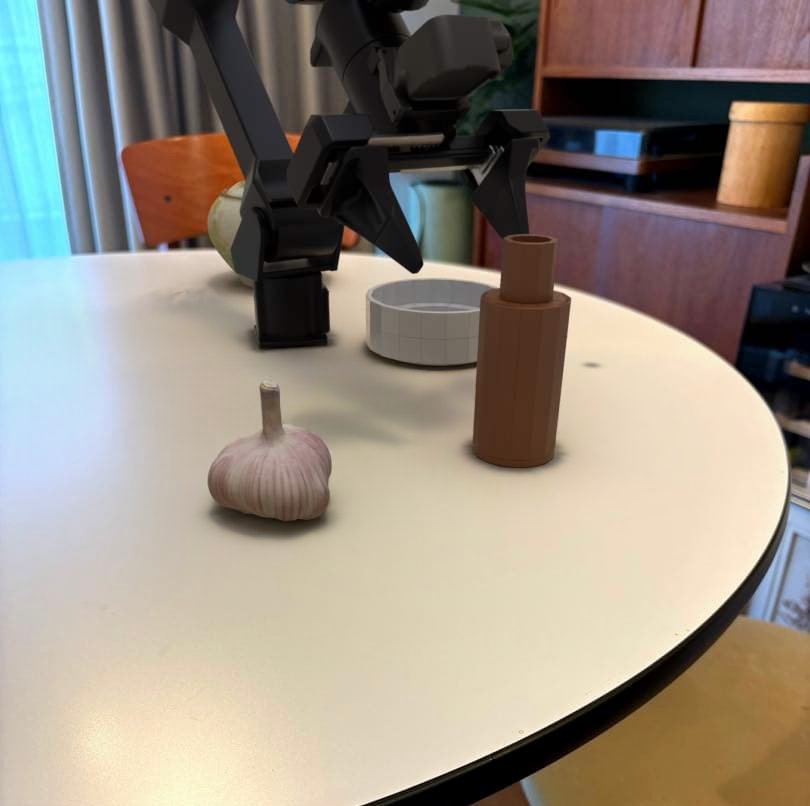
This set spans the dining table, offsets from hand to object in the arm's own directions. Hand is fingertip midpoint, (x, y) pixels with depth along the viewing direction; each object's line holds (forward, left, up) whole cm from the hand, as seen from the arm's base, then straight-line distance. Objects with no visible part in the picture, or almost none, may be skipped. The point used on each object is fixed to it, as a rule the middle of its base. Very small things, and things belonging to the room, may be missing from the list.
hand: (474, 261), depth 55 cm
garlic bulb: (-15, -10, -12) cm, 22 cm away
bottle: (+2, -5, -12) cm, 13 cm away
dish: (+3, +19, -12) cm, 23 cm away
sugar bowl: (-9, +49, -12) cm, 51 cm away
